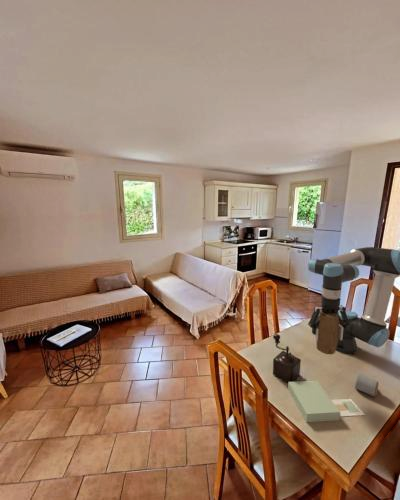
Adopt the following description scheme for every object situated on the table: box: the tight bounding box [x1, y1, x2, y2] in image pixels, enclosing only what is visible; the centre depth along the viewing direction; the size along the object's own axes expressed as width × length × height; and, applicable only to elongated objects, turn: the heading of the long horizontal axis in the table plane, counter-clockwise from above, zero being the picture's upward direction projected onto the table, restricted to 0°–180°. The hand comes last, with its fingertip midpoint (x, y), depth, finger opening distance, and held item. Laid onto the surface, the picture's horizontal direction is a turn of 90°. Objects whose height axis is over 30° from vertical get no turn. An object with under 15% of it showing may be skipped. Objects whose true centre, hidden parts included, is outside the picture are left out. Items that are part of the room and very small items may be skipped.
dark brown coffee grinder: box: [272, 333, 302, 384], centre depth 116 cm, size 16×11×18 cm
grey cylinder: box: [354, 372, 380, 397], centre depth 105 cm, size 11×8×8 cm
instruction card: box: [331, 398, 365, 418], centre depth 96 cm, size 10×8×1 cm
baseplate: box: [287, 380, 341, 423], centre depth 98 cm, size 14×17×4 cm
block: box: [316, 310, 339, 355], centre depth 105 cm, size 11×8×20 cm
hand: (327, 339), depth 106 cm, fingers closed on block, 11 cm apart
